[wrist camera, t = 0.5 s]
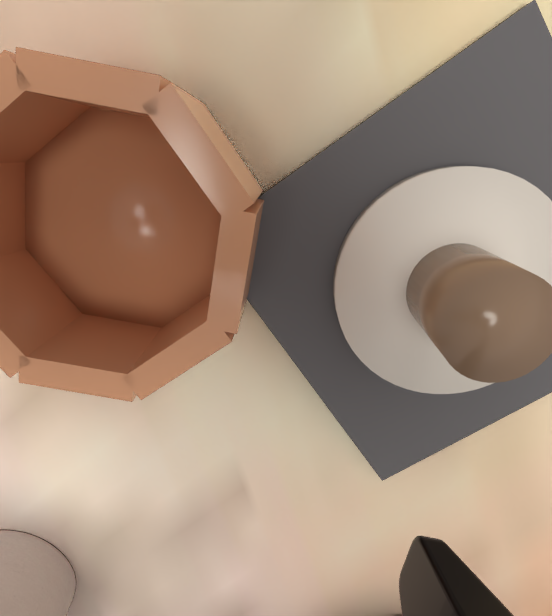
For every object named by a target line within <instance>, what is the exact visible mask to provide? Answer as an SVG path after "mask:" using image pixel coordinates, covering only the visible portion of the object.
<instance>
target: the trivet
mask: <svg viewBox="0 0 552 616" xmlns="http://www.w3.org/2000/svg"><path fill="white" fill-rule="evenodd" d="M447 166H477V167H485V168H493V169H497V170H501V171H505V172H508V173H511V174H513V175H515V176H518V177H520V178H522V179H524V180H526V181H528V182H529V183H531V184H532V185H534V186H536V187H537V188H538V189H539V190H541V191H542V192H543V193H544V194H545V195H546V196H548V197H549V198H550V200H551V201H552V37H551V35H550V33H549V30H548V28H547V26H546V23H545V21H544V19H543V17H542V14H541V12H540V10H539V8H538V5H537V3H536V1H535V0H533V1H532V2H530V3H529V4H527V5H526V6H524V7H523V8H521V9H520V10H519V11H517V12H516V13H514V14H513V15H512V16H510V17H509V18H507V19H506V20H505V21H503V22H502V23H500V24H499V25H498V26H496V27H495V28H494V29H492V30H491V31H489V32H488V33H487V34H485V35H484V36H482V37H481V38H480V39H478V40H477V41H475V42H474V43H473V44H471V45H470V46H468V47H467V48H466V49H464V50H463V51H461V52H460V53H459V54H457V55H456V56H454V57H453V58H452V59H450V60H449V61H447V62H446V63H445V64H443V65H442V66H440V67H439V68H438V69H436V70H435V71H434V72H432V73H431V74H429V75H428V76H427V77H425V78H424V79H422V80H421V81H420V82H418V83H417V84H415V85H414V86H413V87H411V88H410V89H408V90H407V91H406V92H404V93H403V94H401V95H400V96H399V97H397V98H396V99H394V100H393V101H392V102H390V103H389V104H387V105H386V106H385V107H383V108H382V109H381V110H379V111H378V112H376V113H375V114H374V115H372V116H371V117H369V118H368V119H367V120H365V121H364V122H362V123H361V124H360V125H358V126H357V127H355V128H354V129H353V130H351V131H350V132H348V133H347V134H346V135H344V136H343V137H341V138H340V139H339V140H337V141H336V142H334V143H333V144H332V145H330V146H329V147H328V148H326V149H325V150H323V151H322V152H321V153H319V154H318V155H316V156H315V157H314V158H312V159H311V160H309V161H308V162H307V163H305V164H304V165H302V166H301V167H300V168H298V169H297V170H295V171H294V172H293V173H291V174H290V175H288V176H287V177H286V178H284V179H283V180H281V181H280V182H279V183H277V184H276V185H275V186H273V187H272V188H270V189H269V190H268V191H266V192H265V193H263V194H262V195H261V196H259V197H258V198H257V199H262V200H264V204H263V210H262V215H261V221H260V227H259V233H258V239H257V245H256V251H255V257H254V263H253V269H252V275H251V281H250V287H249V293H248V296H247V300H248V301H249V302H250V304H251V305H252V306H253V308H254V309H255V310H256V312H257V313H258V314H259V316H260V317H261V319H262V320H263V321H264V323H265V324H266V325H267V327H268V328H269V329H270V331H271V332H272V333H273V335H274V336H275V337H276V339H277V340H278V341H279V343H280V344H281V345H282V347H283V348H284V349H285V351H286V352H287V353H288V355H289V356H290V357H291V359H292V360H293V362H294V363H295V364H296V366H297V367H298V368H299V370H300V371H301V372H302V374H303V375H304V376H305V378H306V379H307V380H308V382H309V383H310V384H311V386H312V387H313V388H314V390H315V391H316V392H317V394H318V395H319V396H320V398H321V399H322V400H323V402H324V403H325V404H326V406H327V407H328V409H329V410H330V411H331V413H332V414H333V415H334V417H335V418H336V419H337V421H338V422H339V423H340V425H341V426H342V427H343V429H344V430H345V431H346V433H347V434H348V435H349V437H350V438H351V439H352V441H353V442H354V443H355V445H356V446H357V447H358V449H359V450H360V452H361V453H362V454H363V456H364V457H365V458H366V460H367V461H368V462H369V464H370V465H371V466H372V468H373V469H374V470H375V472H376V473H377V474H378V476H379V477H380V478H381V480H382V481H383V480H385V479H386V478H388V477H390V476H392V475H394V474H396V473H398V472H400V471H402V470H404V469H406V468H408V467H409V466H411V465H413V464H415V463H417V462H419V461H421V460H423V459H425V458H427V457H429V456H431V455H432V454H434V453H436V452H438V451H440V450H442V449H444V448H446V447H448V446H450V445H452V444H454V443H455V442H457V441H459V440H461V439H463V438H465V437H467V436H469V435H471V434H473V433H475V432H477V431H478V430H480V429H482V428H484V427H486V426H488V425H490V424H492V423H494V422H496V421H498V420H500V419H501V418H503V417H505V416H507V415H509V414H511V413H513V412H515V411H517V410H519V409H521V408H523V407H524V406H526V405H528V404H530V403H532V402H534V401H536V400H538V399H540V398H542V397H544V396H546V395H547V394H549V393H551V392H552V353H551V354H550V355H549V357H548V358H547V359H546V360H545V361H544V362H543V363H542V364H541V365H540V366H538V367H537V368H536V369H534V370H533V371H531V372H529V373H528V374H526V375H524V376H522V377H519V378H516V379H514V380H510V381H506V382H499V383H493V384H491V385H488V386H485V387H482V388H479V389H476V390H472V391H467V392H462V393H454V394H429V393H421V392H416V391H412V390H408V389H405V388H402V387H400V386H397V385H394V384H392V383H390V382H388V381H387V380H385V379H383V378H381V377H380V376H378V375H377V374H375V373H374V372H373V371H371V370H370V369H369V368H368V367H367V366H366V365H365V364H364V363H363V362H362V361H361V360H360V359H359V358H358V357H357V355H356V354H355V353H354V352H353V350H352V349H351V347H350V345H349V344H348V342H347V340H346V338H345V336H344V334H343V331H342V329H341V326H340V323H339V320H338V316H337V312H336V308H335V304H334V296H333V276H334V270H335V264H336V260H337V257H338V253H339V250H340V247H341V245H342V243H343V241H344V238H345V236H346V234H347V233H348V231H349V229H350V228H351V226H352V224H353V223H354V221H355V220H356V219H357V217H358V216H359V215H360V214H361V212H362V211H363V210H364V209H365V208H366V207H367V206H368V205H369V204H370V203H371V202H372V201H373V200H374V199H375V198H376V197H377V196H379V195H380V194H381V193H383V192H384V191H385V190H387V189H388V188H389V187H391V186H393V185H394V184H396V183H398V182H400V181H401V180H403V179H405V178H408V177H410V176H412V175H415V174H417V173H420V172H424V171H427V170H431V169H434V168H441V167H447Z"/></svg>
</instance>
